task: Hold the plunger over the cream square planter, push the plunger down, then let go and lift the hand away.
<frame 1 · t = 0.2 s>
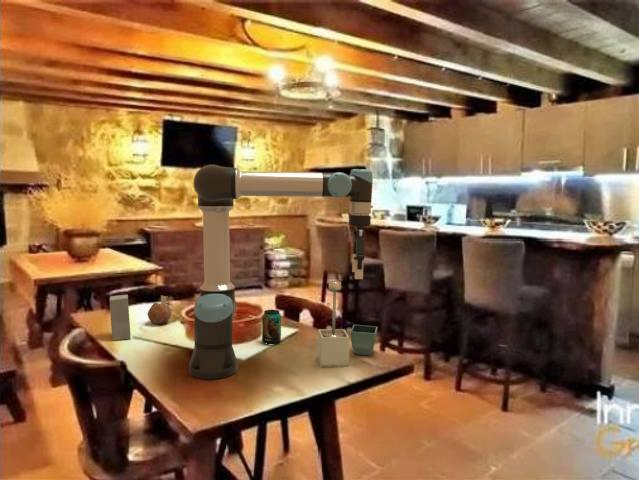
hand: (357, 275, 167), 28 cm above the table, fingers open, 13 cm apart
skincare box: (120, 337, 182), on the table
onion: (160, 324, 201), on the table
flower pot: (363, 353, 171), on the table
cream square planter: (332, 362, 161), on the table
architectural model: (165, 312, 223), on the table
plunger: (334, 309, 159), point 18 cm above the table, slide at 0.0 cm
beverage can: (271, 343, 180), on the table
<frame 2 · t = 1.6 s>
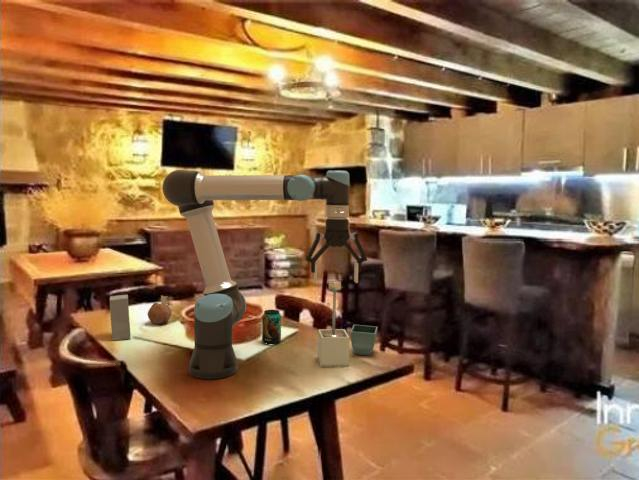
hand: (335, 282, 158), 27 cm above the table, fingers open, 13 cm apart
nothing on the table moved.
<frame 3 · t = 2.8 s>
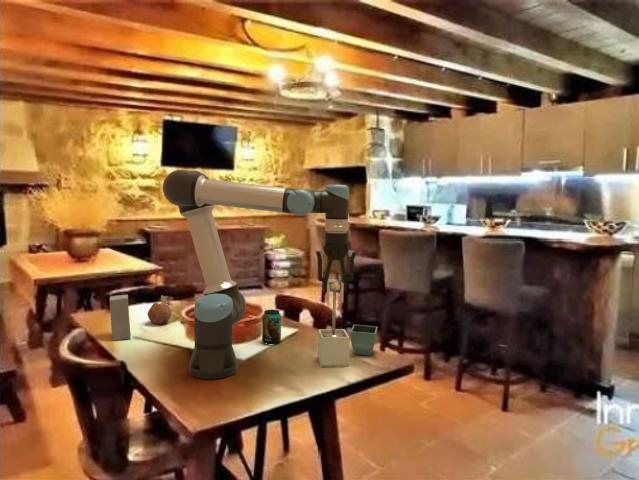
hand: (334, 301, 159), 21 cm above the table, fingers closed on plunger, 4 cm apart
plunger: (334, 309, 159), point 18 cm above the table, slide at 0.0 cm, touching gripper
everything else where it was.
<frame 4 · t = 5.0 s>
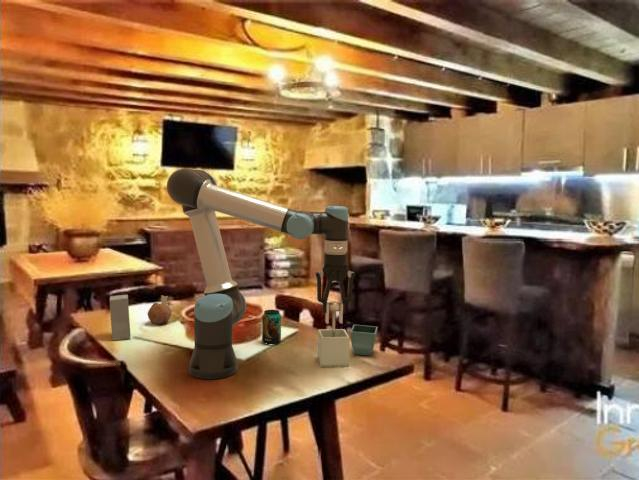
hand: (333, 322, 160), 14 cm above the table, fingers closed on plunger, 4 cm apart
plunger: (333, 329, 160), point 11 cm above the table, slide at 7.0 cm, touching gripper
everything else where it was.
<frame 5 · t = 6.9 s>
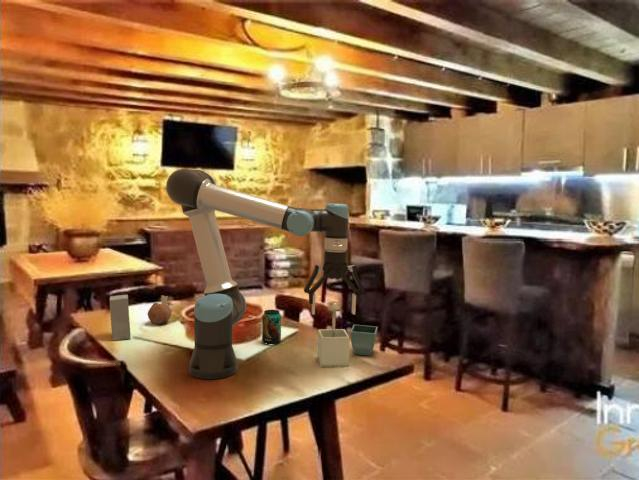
hand: (333, 313, 160), 17 cm above the table, fingers open, 13 cm apart
plunger: (333, 329, 160), point 11 cm above the table, slide at 7.0 cm
everything else where it was.
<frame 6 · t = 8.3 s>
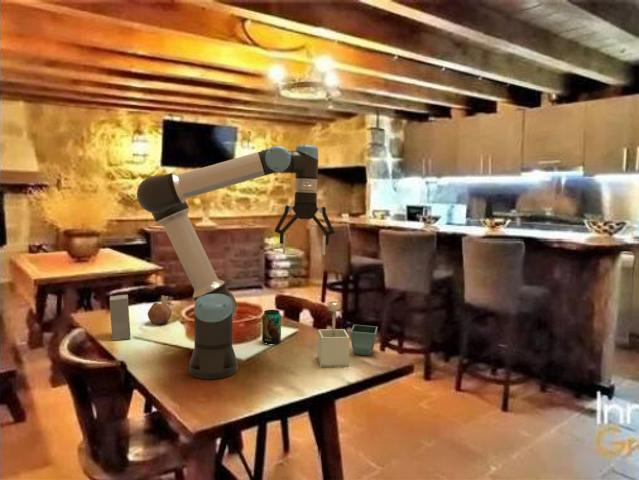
hand: (303, 254, 164), 36 cm above the table, fingers open, 13 cm apart
nothing on the table moved.
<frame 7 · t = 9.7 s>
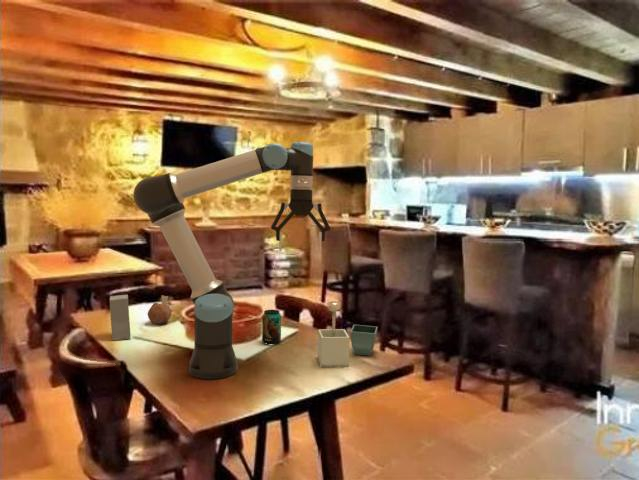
hand: (300, 250, 165), 37 cm above the table, fingers open, 13 cm apart
nothing on the table moved.
at the end: plunger slide at 7.0 cm; the gripper is holding nothing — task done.
